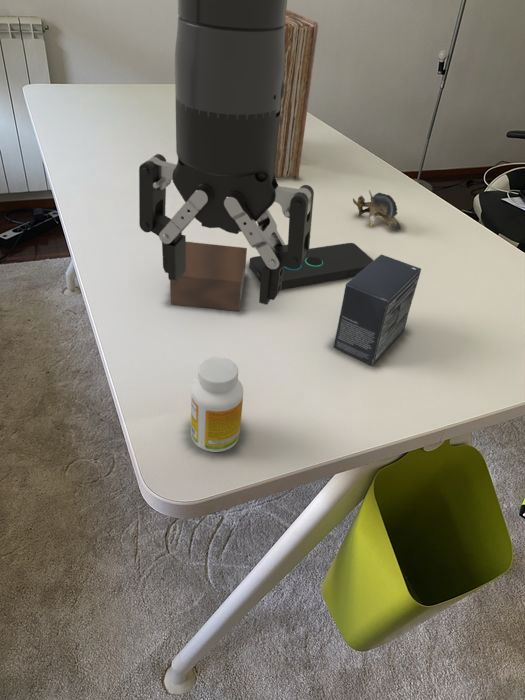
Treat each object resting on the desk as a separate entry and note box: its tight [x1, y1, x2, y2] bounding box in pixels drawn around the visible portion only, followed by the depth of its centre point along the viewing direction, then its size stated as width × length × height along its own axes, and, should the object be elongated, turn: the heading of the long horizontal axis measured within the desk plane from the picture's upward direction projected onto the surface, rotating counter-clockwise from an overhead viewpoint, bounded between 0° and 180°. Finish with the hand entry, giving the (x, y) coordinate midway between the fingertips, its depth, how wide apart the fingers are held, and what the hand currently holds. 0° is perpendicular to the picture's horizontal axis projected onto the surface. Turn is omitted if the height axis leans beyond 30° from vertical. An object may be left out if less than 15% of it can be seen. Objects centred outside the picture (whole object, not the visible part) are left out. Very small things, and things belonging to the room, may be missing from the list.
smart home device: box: [248, 242, 375, 290], centre depth 90 cm, size 8×2×20 cm
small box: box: [333, 254, 422, 366], centre depth 74 cm, size 11×6×10 cm, turn 145°
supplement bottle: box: [190, 356, 244, 453], centre depth 58 cm, size 5×5×10 cm
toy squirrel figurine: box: [352, 190, 402, 232], centre depth 105 cm, size 8×7×9 cm
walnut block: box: [169, 241, 248, 312], centre depth 82 cm, size 10×10×5 cm
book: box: [275, 8, 319, 180], centre depth 119 cm, size 25×9×30 cm, turn 21°
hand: (221, 288), depth 49 cm, fingers open, 8 cm apart
